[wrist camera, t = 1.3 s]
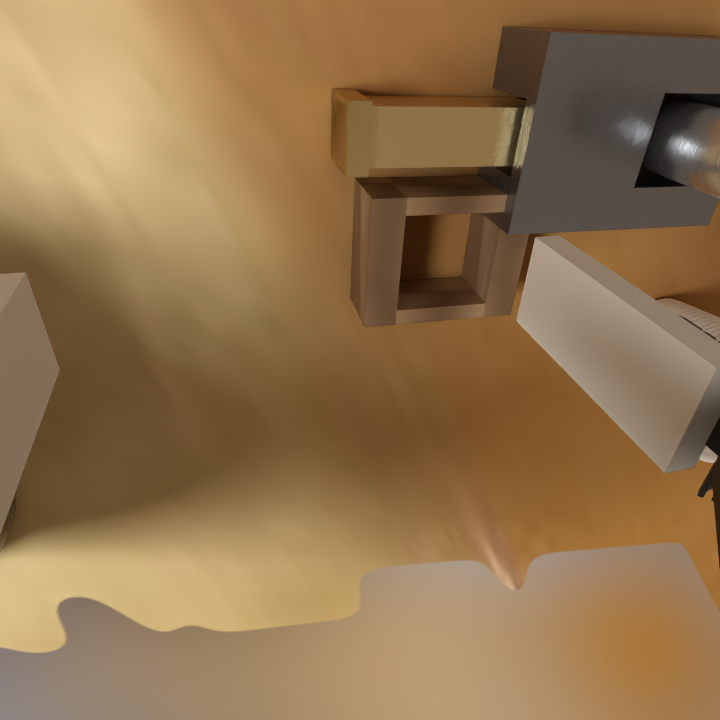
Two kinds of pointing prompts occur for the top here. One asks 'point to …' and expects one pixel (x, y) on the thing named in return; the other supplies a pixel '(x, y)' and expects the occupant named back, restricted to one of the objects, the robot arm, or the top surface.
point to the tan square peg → (422, 131)
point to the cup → (708, 323)
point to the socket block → (597, 128)
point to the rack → (430, 296)
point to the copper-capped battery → (686, 145)
